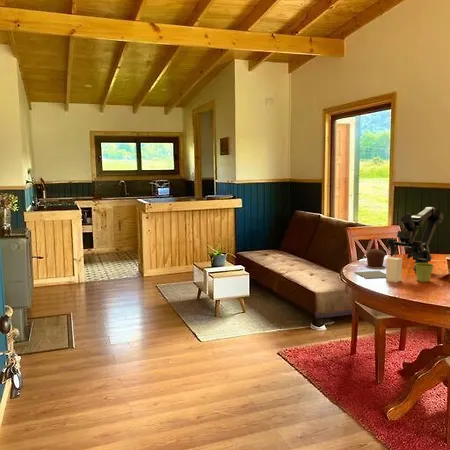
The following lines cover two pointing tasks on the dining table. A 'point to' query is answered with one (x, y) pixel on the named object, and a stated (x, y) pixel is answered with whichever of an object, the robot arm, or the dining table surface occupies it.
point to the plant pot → (423, 271)
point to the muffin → (375, 257)
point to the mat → (371, 274)
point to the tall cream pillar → (393, 269)
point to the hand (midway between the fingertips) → (399, 257)
